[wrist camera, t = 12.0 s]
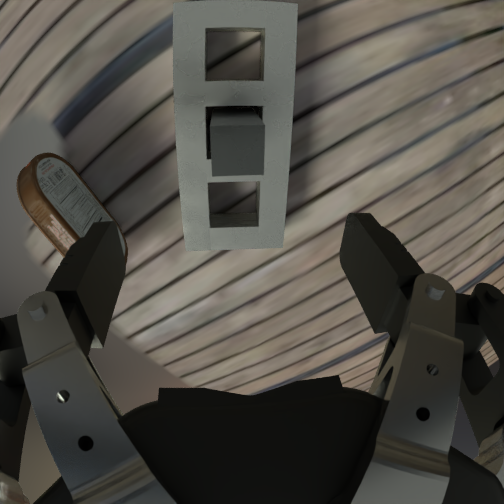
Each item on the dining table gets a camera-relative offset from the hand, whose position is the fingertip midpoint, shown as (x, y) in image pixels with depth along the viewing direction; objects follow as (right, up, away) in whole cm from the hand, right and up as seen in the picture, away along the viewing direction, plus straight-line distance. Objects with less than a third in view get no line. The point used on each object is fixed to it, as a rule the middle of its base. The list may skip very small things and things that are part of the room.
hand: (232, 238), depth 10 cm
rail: (-1, +11, +17) cm, 20 cm away
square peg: (-1, +11, +17) cm, 20 cm away
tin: (-17, +6, +19) cm, 27 cm away
